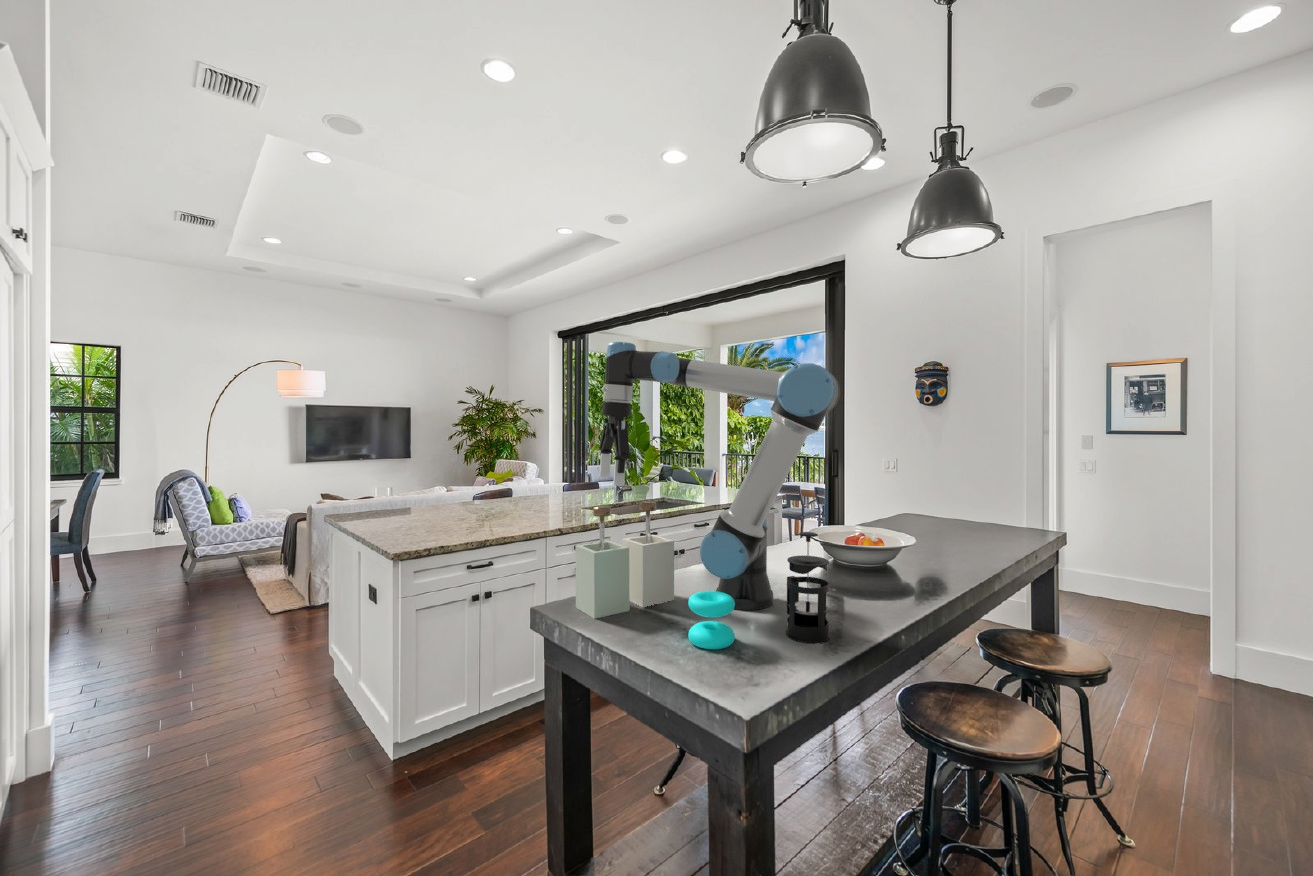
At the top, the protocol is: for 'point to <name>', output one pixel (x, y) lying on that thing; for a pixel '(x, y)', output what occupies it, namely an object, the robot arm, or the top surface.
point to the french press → (806, 615)
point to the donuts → (711, 631)
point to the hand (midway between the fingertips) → (611, 481)
